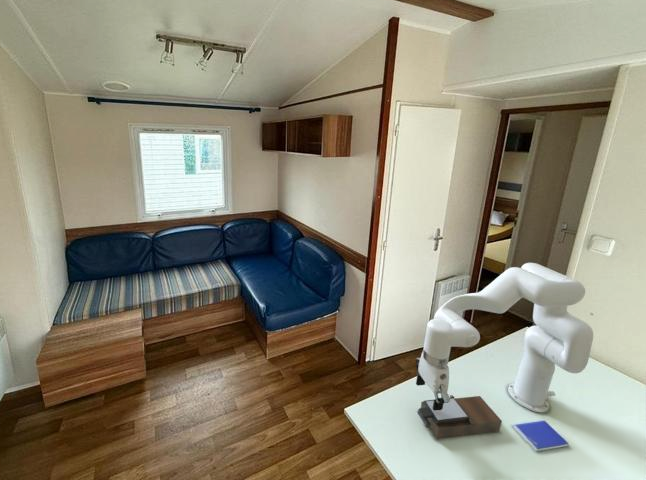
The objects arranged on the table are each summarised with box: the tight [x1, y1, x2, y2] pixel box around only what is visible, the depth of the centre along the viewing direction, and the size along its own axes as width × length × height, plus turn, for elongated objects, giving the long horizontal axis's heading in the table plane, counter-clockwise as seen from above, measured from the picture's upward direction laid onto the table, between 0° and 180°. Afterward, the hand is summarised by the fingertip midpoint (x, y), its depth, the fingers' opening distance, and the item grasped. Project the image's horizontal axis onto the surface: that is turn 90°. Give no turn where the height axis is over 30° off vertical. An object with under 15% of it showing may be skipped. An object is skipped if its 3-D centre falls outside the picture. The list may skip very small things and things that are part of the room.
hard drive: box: [513, 420, 569, 452], centre depth 100 cm, size 2×8×12 cm
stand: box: [420, 394, 503, 440], centre depth 104 cm, size 24×10×7 cm, turn 97°
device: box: [417, 396, 469, 428], centre depth 103 cm, size 16×8×4 cm, turn 97°
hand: (428, 396), depth 100 cm, fingers open, 9 cm apart
